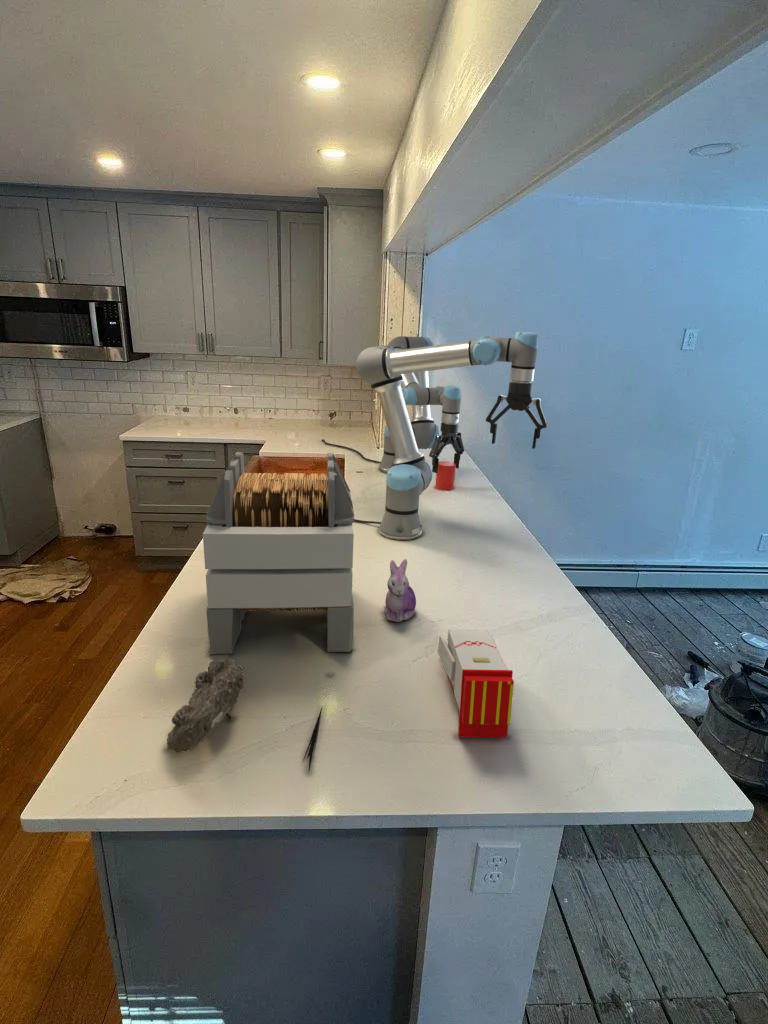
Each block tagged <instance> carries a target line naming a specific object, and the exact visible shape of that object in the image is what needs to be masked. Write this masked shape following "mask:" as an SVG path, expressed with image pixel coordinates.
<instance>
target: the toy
mask: <svg viewBox="0 0 768 1024" xmlns="http://www.w3.org/2000/svg"><path fill="white" fill-rule="evenodd" d="M446 640H447V643H446V641H445V639H444V636H443V635H442V634H439V637H438V646H437V656H438V657H439V659H440V661H441V663H442V666H443V668H444V670H445V672H446V674H447V677H448V679H449V681H450V684H451V687H452V690H453V693H454V697H455V701H456V705H457V708H458V711H459V714H458V715H459V716H458V730H457V731H458V732H457V737H458V738H508V731H509V726H510V725H511V717H512V707H513V697H514V696H513V695H514V684H515V680H514V679H513V673H514V671H513V670H512V669H508V667H507V665H506V662H505V661H504V659H503V658H502V655H501V653H500V651H499V649H498V647H497V643H496V639H495V637H494V635H493V634H491V632H490V631H489V629H467V628H466V629H465V628H463V629H461V628H460V629H459V628H448V630H447V639H446Z"/></svg>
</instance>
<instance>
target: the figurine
mask: <svg viewBox="0 0 768 1024" xmlns="http://www.w3.org/2000/svg"><path fill="white" fill-rule="evenodd" d="M407 567H408V559H406V558H404V559H403V560H402V561H401V563H400V565H399V566H398V565H397V563H396V562H395V561H394V560H393V559H391V560H390V561H389V570H390V576H389V578H388V579H387V589H388V591H387V592H386V594H385V595H386V596H385V607H384V615H385V616H386V620H387V621H391V622H395V623H400V622H402V621H406V620H409V619H410V618H411V617H413V616H414V615H415V610H416V606H417V597H416V593H415V591H414V590H413V587H411V586H410V582H409V579H408V577H407V574H406V571H407Z"/></svg>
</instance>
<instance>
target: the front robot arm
mask: <svg viewBox="0 0 768 1024" xmlns="http://www.w3.org/2000/svg"><path fill="white" fill-rule="evenodd" d="M433 345H434V344H433ZM538 346H539V335H538V333H536V332H527V331H517V332H515V333H514V336H513V337H502V336H501V337H498V336H487V335H486V336H478V337H477V338H476V339H474V340H466V341H465V340H464V341H458V342H449V343H442V344H436V345H434V346H427V347H419V348H412V349H404V350H395V349H394V348H392V347H389V346H387V345H384V344H382V345H377V346H371V347H368V348H367V347H366V348H365V349H363V350H362V351H360V353H359V354H358V356H357V358H356V361H355V362H356V364H355V368H356V372H357V374H358V376H359V377H360V378H361V379H362V380H364V381H365V382H367V383H369V384H370V388H371V390H372V391H373V392H375V393H376V394H377V397H378V399H379V400H378V401H379V403H380V407H381V410H382V413H383V417H384V421H385V426H386V425H387V428H388V432H389V435H390V439H391V442H392V446H393V449H394V453H395V456H396V457H395V460H394V462H393V464H394V466H393V467H391V468H390V469H389V470H388V472H387V473H386V476H385V477H386V478H385V483H386V484H385V504H384V505H385V507H384V508H385V509H384V513H383V515H382V519H381V521H374V520H373V521H372V520H362V519H356V518H354V522H357V523H362V524H374V525H379V526H378V533H379V534H380V535H381V536H382V537H385V538H387V539H389V540H395V541H410V540H415V539H418V538H420V537H421V536H422V535H423V525H422V524H421V518H420V515H419V507H420V506H419V505H420V496H421V495H422V493H423V492H425V490H427V489H428V488H429V486H430V484H431V483H432V479H433V472H432V467H431V465H430V464H429V462H427V461H426V457H425V454H424V452H421V451H419V449H418V447H417V444H416V440H415V437H414V433H413V429H412V426H411V419H410V415H409V411H408V407H407V405H406V404H405V400H404V397H403V393H402V390H403V388H402V386H401V384H402V382H403V377H402V374H406V373H414V372H423V371H428V372H430V371H438V370H439V371H440V370H446V369H455V368H464V367H472V366H488V365H492V364H494V363H496V362H504V363H511V366H510V374H509V380H510V382H509V383H508V389H507V390H508V391H507V395H503V394H498V396H497V399H496V402H495V404H494V405H493V407H492V409H491V411H490V412H489V413H488V415H487V417H486V418H485V422H487V423H489V424H490V426H489V433H490V434H492V436H491V444H492V445H494V444H495V443H496V441H497V440H496V439H497V430H498V423H496V422H498V421H499V420H500V419H501V417H503V416H504V415H505V414H506V413H507V412H508V411H509V410H512V411H519V412H523V411H525V413H526V414H527V415H528V417H529V418H530V420H531V421H532V423H533V424H534V426H535V428H534V431H533V439H532V446H531V448H532V449H534V450H535V449H536V446H537V445H536V444H537V439H540V438H541V435H542V429H546V428H547V427H548V426H549V425H548V422H547V419H546V416H545V413H544V410H543V407H542V403H541V402H542V399H541V398H540V397H538V398H533V397H532V394H533V393H532V392H533V385H534V384H533V382H534V377H535V370H536V369H535V368H536V362H537V357H538V348H539V347H538ZM504 401H506V403H507V406H505V407H504V408H503V409H502V410H501V411H500V412H499V413H498V414H497V415H496V416H495V417H494V418H493V416H494V415H495V413H496V411H497V410H498V409H499V407H500V405H501V404H502V403H504ZM531 404H533V405H534V406H535V407H536V411H537V413H538V416H539V419H540V421H539V419H538V418H537V416H536V415H535V413H534V411H533V410H532V409H531V407H530V405H531Z"/></svg>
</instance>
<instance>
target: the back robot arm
mask: <svg viewBox="0 0 768 1024" xmlns="http://www.w3.org/2000/svg"><path fill="white" fill-rule="evenodd" d="M386 346H389V347H392V348H394V349H395V350H404V349H412V348H419V347H427V346H434V342H433V340H431V338H430V337H427V336H404V335H400V336H396V337H394V338H392V339H391V340H390V341H389V342H388V344H387V345H386ZM402 377H403V382H402V384H401V389H402V393H403V397H404V400H405V404H406V406H412V419H410V422H411V426H412V429H413V433H414V437H415V440H416V444H417V447H418V450H427V449H430V451H429V454H428V457H429V458H431V466H432V467H431V469H432V473H435V474H436V473H438V463H439V462H440V458H439V457H440V455H441V453H442V452H443V450H444V448H445V447H446V446H447V445H451V446H452V448H453V449H454V451H455V452H454V455H453V463H455V464H456V468H455V469H460V461H461V455H463V454H464V452H465V451H466V450H465V446H464V443H463V439H462V432H460V431H459V420H460V410H461V401H462V388H461V387H460V386H458V385H446V386H440V385H436V386H435V387H430V382H429V381H430V380H429V379H430V378H429V371H423V372H414V373H406V374H402ZM431 406H442V408H441V417H440V421H441V423H440V428H439V425H438V424H436V423H435V420H434V419H433V418H432V416H431ZM440 432H441V435H440ZM320 442H321V443H322V442H323V443H324V444H325V445H327V446H332V447H337V448H341V449H347V450H349V451H352V452H354V453H356V454H358V455H359V456H361V458H362V459H363V460H365V461H367V462H371V463H375V464H379V465H378V470H379V471H380V472H381V473H384V474H387V472H388V470H389V469H390V468H391V467H393V466H394V464H393V462H394V460H395V457H396V456H395V453H394V449H393V446H392V442H391V439H390V435H389V432H388V428H387V425H386V424H385V426H384V433H383V455H382V458H381V461H379V460H374V459H370V458H367V457H365V456H364V455H363V454H362V453H361V452H360V451H358V450H356V449H354V448H352V447H347V446H345V445H339V444H335V443H329V442H326V440H325V439H324V438H323V439H321V441H320Z"/></svg>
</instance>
